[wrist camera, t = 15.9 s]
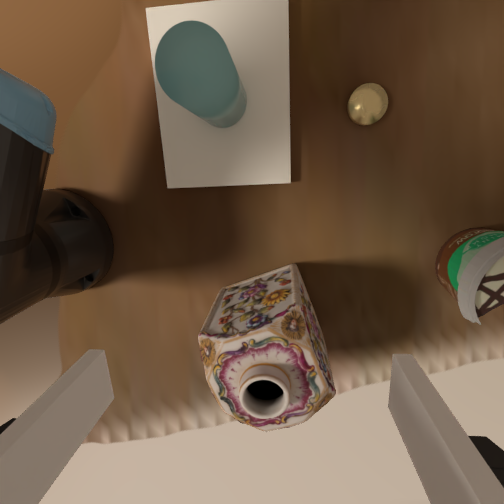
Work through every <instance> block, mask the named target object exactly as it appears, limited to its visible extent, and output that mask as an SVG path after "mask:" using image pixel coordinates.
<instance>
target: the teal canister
mask: <svg viewBox="0 0 504 504" xmlns="http://www.w3.org/2000/svg"><path fill="white" fill-rule="evenodd" d="M155 71H156V76H157V79H158V82H159V84H160V86H161V88H162V89H163V91H164V92H165V93H166V95H167V96H168V97H169V98H170V99H172V100H173V101H174V102H176V103H177V104H179V105H181V106H182V107H184V108H185V109H187V110H188V111H190V112H191V113H193V114H195V115H196V116H198V117H199V118H201V119H202V120H204V121H205V122H207V123H209V124H210V125H212V126H214V127H218V128H227V127H230V126H233V125H234V124H236V123H237V122H238V121H239V120H240V119H241V118H242V116H243V115H244V113H245V110H246V106H247V96H246V91H245V89H244V86H243V84H242V82H241V79H240V77H239V74H238V72H237V70H236V67H235V65H234V62H233V60H232V58H231V55H230V53H229V50H228V48H227V46H226V43H225V42H224V40H223V38H222V37H221V35H220V34H219V33H218V32H217V31H216V30H215V29H214V28H212V27H211V26H209V25H208V24H205V23H203V22H200V21H193V20H191V21H183V22H180V23H178V24H176V25H174V26H172V27H171V28H170V29H169V30H168V31H167V32H166V33H165V34H164V35H163V37H162V38H161V40H160V42H159V44H158V47H157V50H156V55H155Z"/></svg>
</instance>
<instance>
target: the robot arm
mask: <svg viewBox="0 0 504 504" xmlns="http://www.w3.org/2000/svg"><path fill="white" fill-rule="evenodd" d="M55 123H56V110H55V107H54V105H53V103H52V102H51V100H50V99H49V98H48V97H47V96H46V95H45V94H44V93H43V92H41V91H40V90H38V89H37V88H35V87H33V86H32V85H30V84H28V83H26V82H25V81H23V80H21V79H19V78H17V77H15V76H13V75H12V74H10V73H8V72H6V71H4V70H2V69H0V324H1V323H3V322H5V321H6V320H8V319H10V318H12V317H13V316H15V315H17V314H19V313H20V312H22V311H24V310H25V309H27V308H29V307H31V306H33V305H34V304H36V303H38V302H39V301H41V300H43V299H45V298H52V297H58V296H65V295H71V294H76V293H79V292H82V291H84V290H86V289H88V288H89V287H91V286H93V285H94V284H96V283H97V282H99V281H100V280H101V279H102V278H103V277H104V276H105V274H106V273H107V272H108V270H109V268H110V265H111V262H112V258H113V240H112V236H111V232H110V230H109V227H108V225H107V223H106V221H105V220H104V218H103V216H102V215H101V214H100V212H99V211H98V210H97V209H96V208H95V207H94V206H93V205H92V204H91V203H90V202H88V201H87V200H86V199H84V198H83V197H81V196H79V195H77V194H75V193H72V192H69V191H66V190H61V189H47V190H43V188H44V183H45V179H46V174H47V170H48V166H49V161H50V157H51V154H53V153H54V149H53V147H52V144H53V136H54V130H55ZM113 399H114V394H113V389H112V385H111V380H110V375H109V370H108V365H107V360H106V356H105V351H104V350H88V351H87V352H86V353H85V354H84V355H83V356H82V357H81V358H80V359H79V360H78V361H77V362H76V363H75V364H74V365H73V366H71V367H70V368H69V369H68V370H67V371H66V372H65V373H64V374H63V375H62V376H61V377H60V378H59V379H58V380H57V381H56V382H55V383H54V384H53V385H52V386H51V387H50V388H48V389H47V390H46V391H45V392H44V393H43V394H42V395H41V396H40V397H39V398H38V399H37V400H36V401H35V402H34V403H33V404H32V405H31V406H30V407H29V408H28V409H27V410H25V411H24V413H22V414H21V415H20V416H19V417H18V418H17V419H16V418H12V419H11V420H9V421H8V422H6V423H5V424H3V425H2V426H0V504H38V503H39V502H40V501H41V499H42V498H43V496H44V495H45V494H46V492H47V491H48V489H49V488H50V487H51V485H52V484H53V482H54V481H55V480H56V478H57V477H58V476H59V474H60V473H61V471H62V470H63V469H64V467H65V466H66V464H67V463H68V461H69V460H70V459H71V457H72V456H73V455H74V453H75V452H76V451H77V449H78V448H79V446H80V445H81V444H82V442H83V441H84V439H85V438H86V437H87V435H88V434H89V432H90V431H91V430H92V428H93V427H94V426H95V424H96V423H97V421H98V420H99V419H100V417H101V416H102V414H103V413H104V412H105V410H106V409H107V408H108V406H109V405H110V403H111V402H112V401H113ZM388 407H389V410H390V412H391V414H392V417H393V419H394V421H395V423H396V426H397V428H398V430H399V432H400V435H401V437H402V439H403V442H404V444H405V446H406V448H407V450H408V453H409V455H410V457H411V460H412V462H413V464H414V467H415V469H416V471H417V473H418V476H419V478H420V480H421V482H422V485H423V487H424V489H425V491H426V494H427V496H428V498H429V501H430V503H431V504H504V451H503V450H502V449H501V448H499V447H498V446H497V445H496V444H495V443H493V442H492V441H491V440H490V439H488V438H487V437H481V436H468V435H467V434H466V432H465V431H464V430H463V428H462V427H461V425H460V424H459V422H458V421H457V420H456V418H455V416H454V415H453V414H452V412H451V411H450V409H449V408H448V406H447V405H446V403H445V402H444V401H443V399H442V398H441V396H440V395H439V393H438V392H437V390H436V389H435V387H434V386H433V385H432V383H431V382H430V380H429V379H428V377H427V376H426V374H425V373H424V371H423V370H422V368H421V367H420V366H419V364H418V363H417V361H416V360H415V358H414V357H413V355H412V354H393V359H392V370H391V381H390V393H389V404H388Z"/></svg>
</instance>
